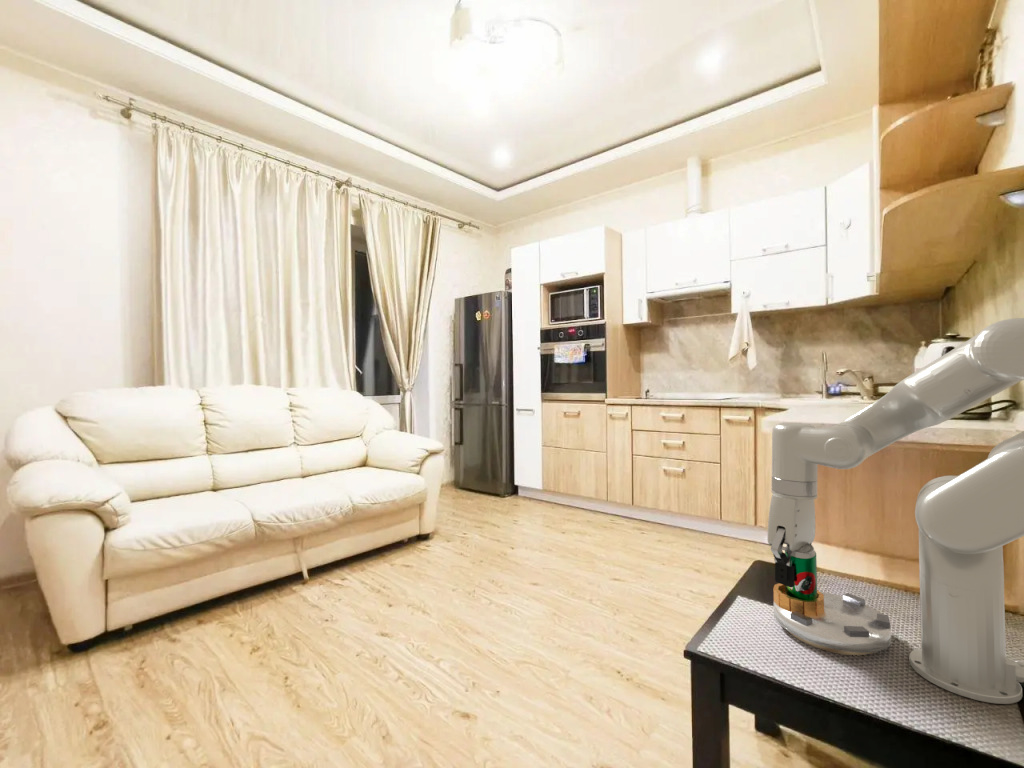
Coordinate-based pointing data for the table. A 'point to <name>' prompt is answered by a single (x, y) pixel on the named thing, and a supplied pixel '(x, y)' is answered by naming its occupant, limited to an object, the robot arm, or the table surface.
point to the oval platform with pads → (833, 621)
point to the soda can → (804, 573)
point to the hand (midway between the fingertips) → (792, 578)
